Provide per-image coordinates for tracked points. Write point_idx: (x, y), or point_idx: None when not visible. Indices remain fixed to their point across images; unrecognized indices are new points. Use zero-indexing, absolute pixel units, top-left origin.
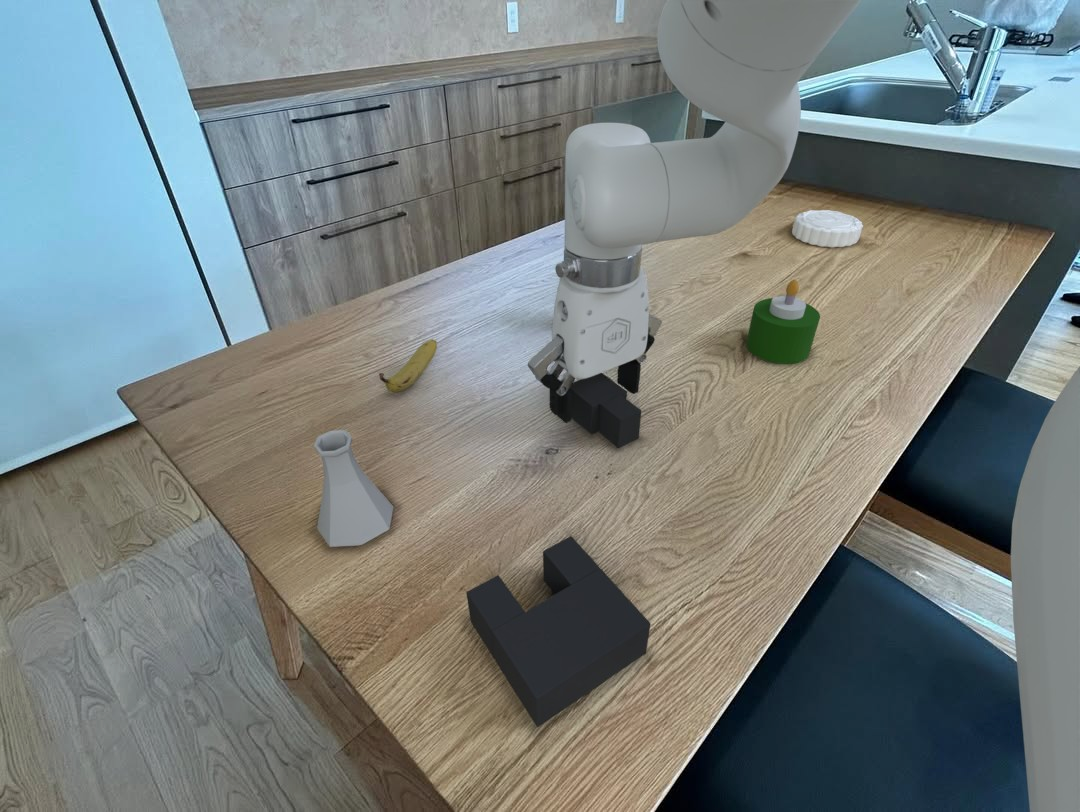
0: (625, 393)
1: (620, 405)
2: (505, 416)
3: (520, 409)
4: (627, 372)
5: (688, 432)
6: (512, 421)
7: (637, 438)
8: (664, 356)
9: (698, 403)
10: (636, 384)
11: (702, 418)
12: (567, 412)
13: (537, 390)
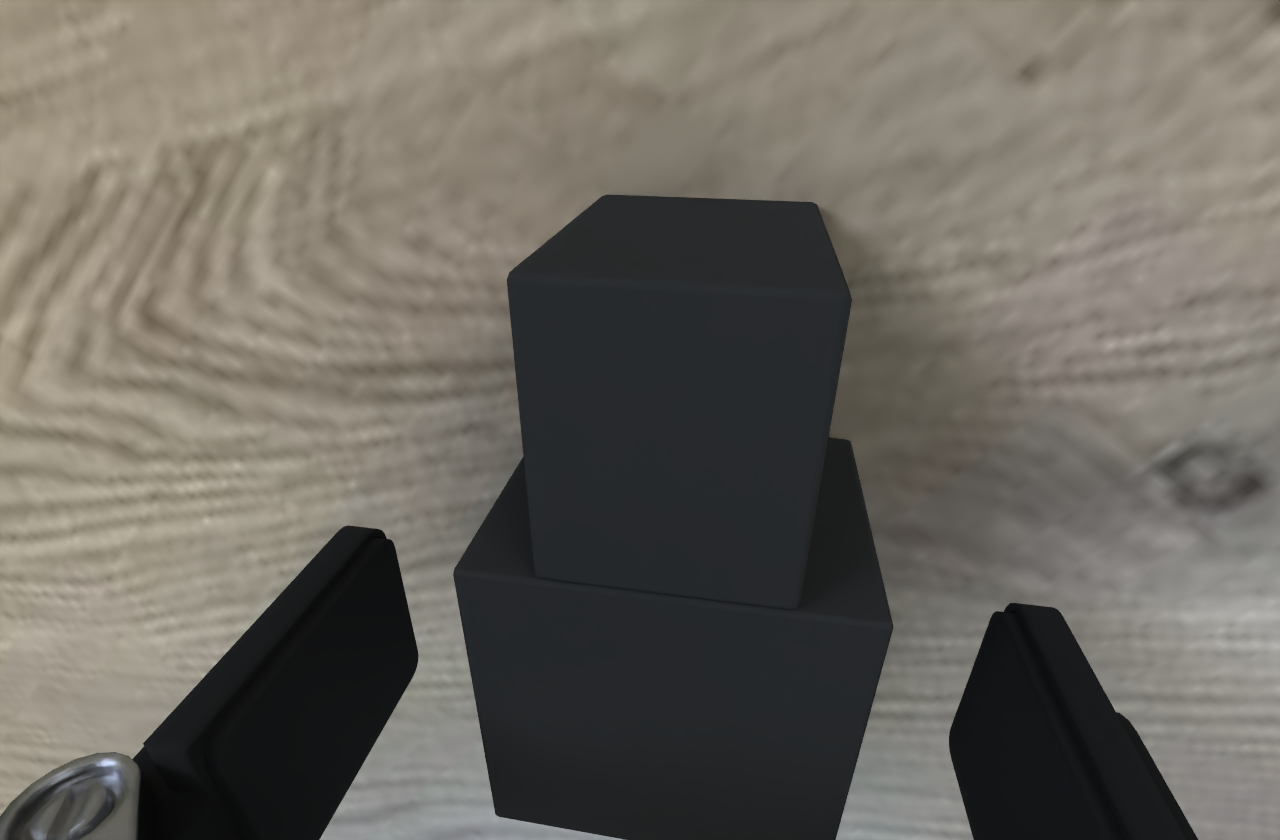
0: (479, 564)
1: (652, 476)
2: None
3: None
4: (318, 717)
5: (212, 3)
6: None
7: (614, 196)
8: (68, 630)
9: (17, 233)
10: (319, 583)
11: (43, 79)
12: (1099, 697)
13: None
